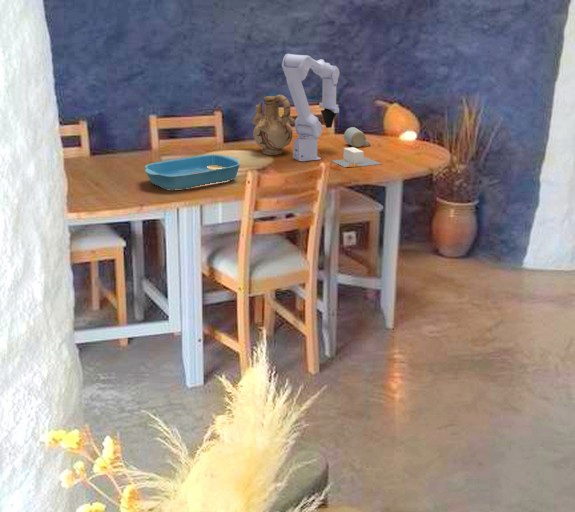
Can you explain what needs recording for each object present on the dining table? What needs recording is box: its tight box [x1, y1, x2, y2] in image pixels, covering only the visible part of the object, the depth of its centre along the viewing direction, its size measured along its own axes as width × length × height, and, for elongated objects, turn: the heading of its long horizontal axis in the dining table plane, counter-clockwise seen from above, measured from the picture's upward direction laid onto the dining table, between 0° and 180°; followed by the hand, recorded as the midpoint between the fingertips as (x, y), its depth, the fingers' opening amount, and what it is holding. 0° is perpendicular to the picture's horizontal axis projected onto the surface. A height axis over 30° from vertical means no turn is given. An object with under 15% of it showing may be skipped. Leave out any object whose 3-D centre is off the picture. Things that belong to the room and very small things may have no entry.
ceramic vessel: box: [251, 94, 296, 156], centre depth 366 cm, size 18×19×25 cm
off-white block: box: [342, 146, 365, 164], centre depth 356 cm, size 4×4×9 cm
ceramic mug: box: [343, 126, 371, 148], centre depth 383 cm, size 11×8×8 cm
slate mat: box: [331, 156, 382, 168], centre depth 354 cm, size 16×12×1 cm
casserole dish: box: [144, 154, 241, 190], centre depth 324 cm, size 37×22×7 cm, turn 126°
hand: (328, 127), depth 370 cm, fingers closed
